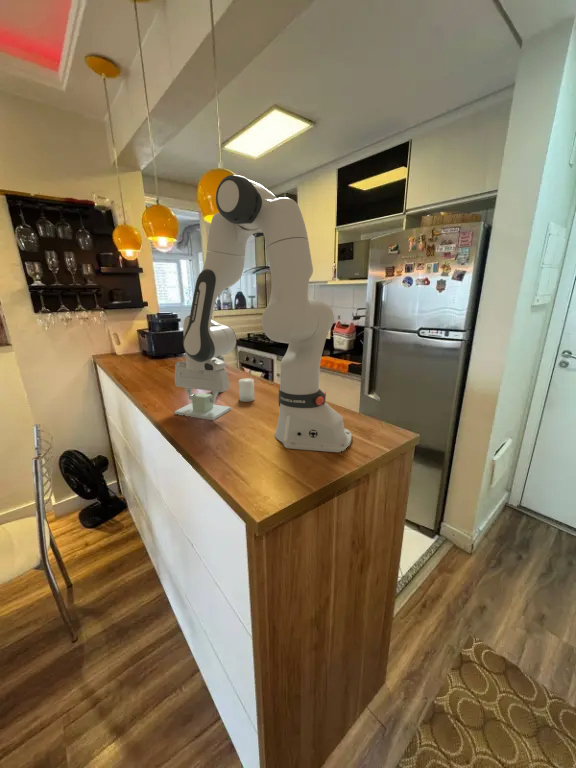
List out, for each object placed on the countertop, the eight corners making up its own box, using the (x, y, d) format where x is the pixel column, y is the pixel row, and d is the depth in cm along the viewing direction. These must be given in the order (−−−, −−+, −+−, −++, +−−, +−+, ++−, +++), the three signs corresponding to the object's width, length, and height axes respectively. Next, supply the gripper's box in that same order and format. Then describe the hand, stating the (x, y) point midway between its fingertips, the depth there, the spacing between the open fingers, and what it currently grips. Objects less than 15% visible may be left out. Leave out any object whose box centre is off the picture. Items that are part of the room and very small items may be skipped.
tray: (230, 409, 112) (230, 406, 112) (213, 420, 102) (213, 417, 102) (194, 404, 118) (194, 401, 117) (174, 414, 108) (174, 411, 107)
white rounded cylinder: (257, 398, 125) (256, 379, 123) (250, 402, 120) (249, 382, 118) (243, 396, 127) (243, 377, 125) (236, 400, 122) (235, 381, 120)
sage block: (213, 407, 111) (212, 394, 110) (205, 412, 106) (203, 398, 105) (201, 406, 113) (200, 393, 111) (192, 410, 108) (191, 397, 107)
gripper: (168, 362, 106) (172, 400, 109) (219, 366, 99) (222, 407, 103) (180, 358, 111) (184, 395, 115) (230, 362, 104) (232, 401, 108)
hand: (202, 400), depth 109 cm, fingers open, 7 cm apart
